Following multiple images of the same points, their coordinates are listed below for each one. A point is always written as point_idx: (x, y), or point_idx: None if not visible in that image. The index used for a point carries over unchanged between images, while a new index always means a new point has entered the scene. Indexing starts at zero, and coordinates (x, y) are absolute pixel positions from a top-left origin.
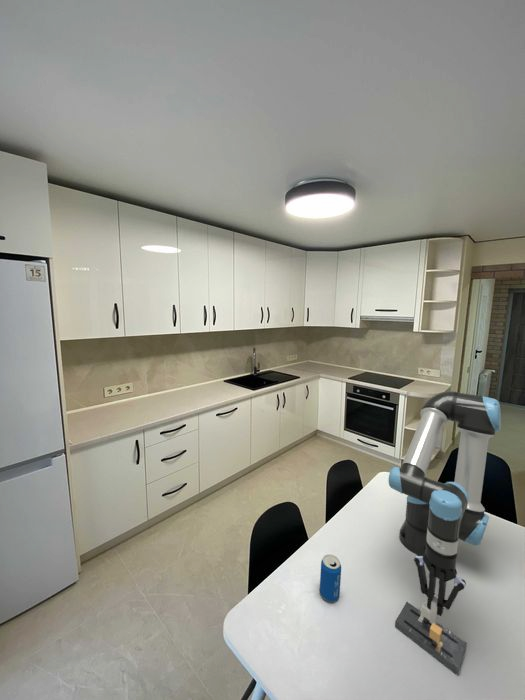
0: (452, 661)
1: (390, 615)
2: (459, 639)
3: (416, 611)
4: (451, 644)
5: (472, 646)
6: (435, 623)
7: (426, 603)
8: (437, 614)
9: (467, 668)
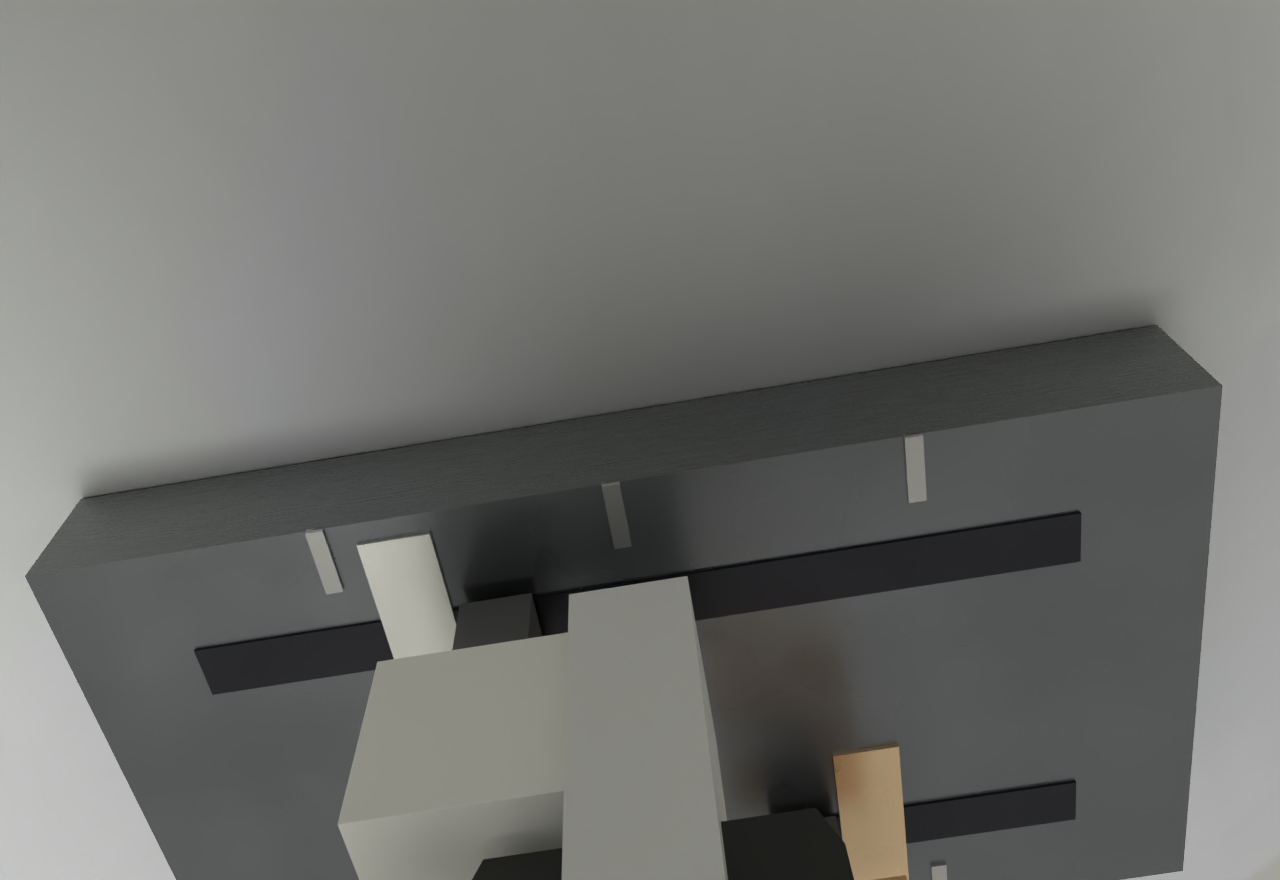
0: (1093, 854)
1: (95, 829)
2: (1096, 443)
3: (285, 609)
4: (1007, 643)
5: (1242, 154)
6: (718, 759)
7: (409, 831)
8: (719, 796)
9: (1224, 595)
